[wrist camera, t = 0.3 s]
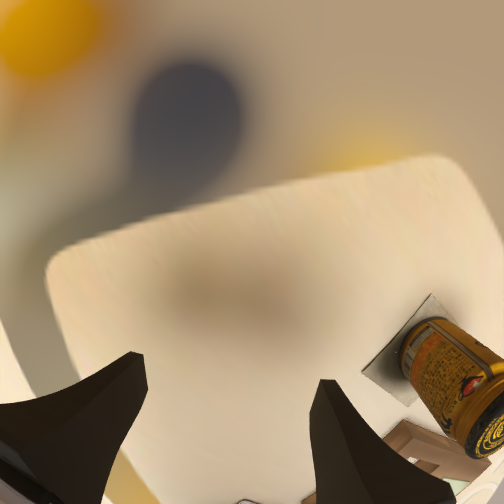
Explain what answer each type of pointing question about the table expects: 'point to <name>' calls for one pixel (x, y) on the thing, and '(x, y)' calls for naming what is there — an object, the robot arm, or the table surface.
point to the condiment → (446, 378)
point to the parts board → (433, 456)
